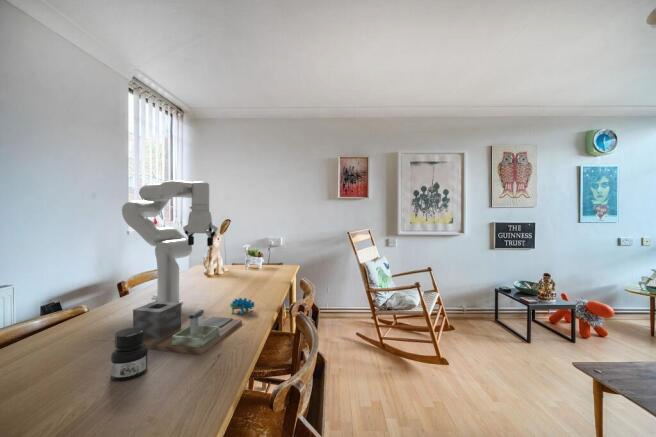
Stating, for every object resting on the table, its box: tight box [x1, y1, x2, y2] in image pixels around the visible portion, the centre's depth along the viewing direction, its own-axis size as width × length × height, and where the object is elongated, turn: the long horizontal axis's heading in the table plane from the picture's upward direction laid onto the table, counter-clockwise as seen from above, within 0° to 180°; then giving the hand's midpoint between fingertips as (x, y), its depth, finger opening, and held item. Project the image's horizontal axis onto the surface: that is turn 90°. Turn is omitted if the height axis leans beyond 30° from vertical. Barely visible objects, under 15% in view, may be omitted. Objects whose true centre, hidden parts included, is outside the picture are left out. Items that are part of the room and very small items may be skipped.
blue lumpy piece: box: [229, 297, 255, 315], centre depth 138 cm, size 11×6×10 cm
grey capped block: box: [188, 309, 205, 338], centre depth 106 cm, size 6×3×9 cm, turn 169°
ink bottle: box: [110, 326, 149, 381], centre depth 87 cm, size 10×9×12 cm
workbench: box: [132, 300, 243, 356], centre depth 115 cm, size 33×28×11 cm
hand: (200, 245), depth 140 cm, fingers open, 9 cm apart
